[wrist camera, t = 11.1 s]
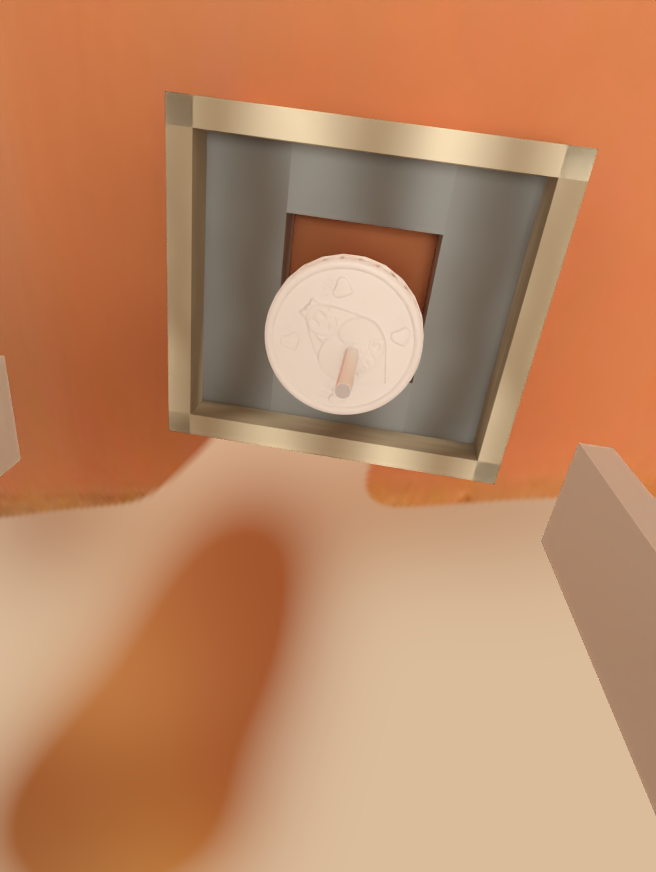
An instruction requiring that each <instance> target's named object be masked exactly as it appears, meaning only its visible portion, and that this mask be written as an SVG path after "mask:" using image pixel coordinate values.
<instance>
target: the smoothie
mask: <svg viewBox="0 0 656 872" xmlns="http://www.w3.org/2000/svg"><path fill="white" fill-rule="evenodd" d="M423 340H424V331H423V318H422V314H421V311H420V308H419V306H418V303H417V300H416V297H415V296H414V294H413V293H412V291H411V290H410V289H409V287H408V286H407V284H406V283H405V282H404V280H403V279H402V278H401V277H400V276H398V275H397V274H396V273H395V272H393V271H392V270H391V269H390V268H388V267H387V266H386V265H384V264H382V263H379V262H377V261H375V260H372V259H370V258H368V257H365V256H357V255H350V254H338V255H331V256H324V257H321V258H319V259H316V260H314V261H312V262H310V263H307V264H305V265H303V266H302V267H300V268H299V269H298V270H297V271H296V272H294V273H293V274H292V275H291V276H290V277H288V278H287V279H286V281H285V282H284V284H283V285H282V286H281V288H280V289H279V291H278V292H277V294H276V295H275V297H274V300H273V302H272V304H271V306H270V309H269V311H268V315H267V319H266V324H265V347H266V352H267V356H268V359H269V362H270V365H271V367H272V369H273V371H274V373H275V375H276V377H277V378H278V379H279V381H280V382H281V384H282V385H283V386H284V387H285V388H286V389H287V390H288V391H289V392H290V393H291V394H292V395H293V396H294V397H295V398H297V399H298V400H300V401H301V402H303V403H304V404H306V405H308V406H310V407H312V408H314V409H317V410H320V411H323V412H327V413H332V414H340V415H351V414H359V413H364V412H368V411H371V410H374V409H376V408H379V407H381V406H383V405H385V404H386V403H388V402H389V401H391V400H392V399H394V398H395V397H396V396H397V395H398V394H399V393H400V392H401V391H403V389H404V388H405V387H406V386H407V385H408V383H409V382H410V380H411V379H412V377H413V375H414V374H415V372H416V370H417V367H418V365H419V362H420V359H421V354H422V349H423Z"/></svg>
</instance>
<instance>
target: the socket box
mask: <svg viewBox="0 0 656 872" xmlns="http://www.w3.org/2000/svg"><path fill="white" fill-rule="evenodd" d="M165 136H166V223H167V310H168V397H169V430H170V431H176V432H182V433H188V434H194V435H200V436H206V437H212V438H219V439H225V440H231V441H237V442H243V443H249V444H255V445H261V446H267V447H273V448H279V449H285V450H291V451H298V452H304V453H310V454H315V455H322V456H328V457H334V458H340V459H346V460H352V461H358V462H364V463H370V464H376V465H382V466H388V467H394V468H400V469H406V470H412V471H418V472H425V473H431V474H437V475H443V476H449V477H455V478H461V479H467V480H473V481H479V482H485V483H491V484H495V481H496V478H497V475H498V471H499V468H500V465H501V462H502V458H503V455H504V452H505V449H506V445H507V442H508V439H509V436H510V432H511V429H512V426H513V423H514V420H515V416H516V413H517V410H518V407H519V403H520V400H521V397H522V394H523V390H524V387H525V384H526V381H527V377H528V374H529V371H530V368H531V364H532V361H533V358H534V355H535V352H536V348H537V345H538V342H539V339H540V335H541V332H542V329H543V326H544V322H545V319H546V316H547V313H548V309H549V306H550V303H551V300H552V296H553V293H554V290H555V287H556V284H557V280H558V277H559V274H560V271H561V267H562V264H563V261H564V258H565V254H566V251H567V248H568V245H569V241H570V238H571V235H572V232H573V228H574V225H575V222H576V219H577V216H578V212H579V209H580V206H581V203H582V199H583V196H584V193H585V190H586V186H587V183H588V180H589V177H590V173H591V170H592V167H593V164H594V161H595V157H596V154H597V151H598V149H594V148H587V147H580V146H572V145H565V144H557V143H550V142H542V141H535V140H527V139H520V138H512V137H505V136H497V135H490V134H482V133H475V132H467V131H460V130H452V129H445V128H437V127H430V126H422V125H415V124H407V123H400V122H392V121H385V120H377V119H370V118H362V117H355V116H347V115H340V114H332V113H325V112H317V111H310V110H303V109H295V108H288V107H280V106H273V105H265V104H258V103H250V102H243V101H235V100H228V99H220V98H213V97H205V96H198V95H190V94H183V93H175V92H168V91H165ZM295 214H300V215H307V216H314V217H321V218H328V219H335V220H342V221H349V222H356V223H363V224H370V225H377V226H384V227H391V228H398V229H405V230H412V231H419V232H426V233H433V234H439V235H438V240H437V245H436V250H435V255H434V260H433V265H432V270H431V275H430V280H429V284H428V289H427V294H426V299H425V304H424V309H423V314H422V318H423V331H424V340H423V349H422V354H421V359H420V362H419V365H418V367H417V370H416V372H415V374H414V375H413V377H412V379H411V380H410V382H409V383H408V385H407V386H406V387H405V388H404V389H403V391H401V392H400V393H399V394H398V395H397V396H396V397H395V398H394V399H392V400H391V401H389V402H388V403H386V404H385V405H383V406H381V407H379V408H376V409H374V410H371V411H368V412H364V413H359V414H351V415H340V414H332V413H327V412H323V411H320V410H317V409H314V408H312V407H310V406H308V405H306V404H304V403H303V402H301V401H300V400H298V399H297V398H295V397H294V396H293V395H292V394H291V393H290V392H289V391H288V390H287V389H286V388H285V387H284V386H283V385H282V384H281V382H280V381H279V379H278V378H277V377H276V375H275V373H274V371H273V369H272V367H271V365H270V362H269V359H268V356H267V352H266V347H265V324H266V319H267V315H268V311H269V309H270V306H271V304H272V302H273V300H274V297H275V295H276V294H277V292H278V291H279V289H280V288H281V286H282V285H283V284H284V282H285V281H286V279H287V278H288V277H289V275H290V264H291V253H292V241H293V230H294V219H295Z"/></svg>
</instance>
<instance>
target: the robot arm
mask: <svg viewBox="0 0 656 872" xmlns="http://www.w3.org/2000/svg"><path fill="white" fill-rule="evenodd" d="M20 460H21V457H20V450H19V444H18V438H17V432H16V425H15V419H14V413H13V406H12V400H11V394H10V387H9V381H8V375H7V368H6V362H5V356H2V355H0V476H1V475H3V474H4V473H5V472H6V471H8V470H9V469H10V468H11V467H13V466H14V465H15V464H16V463H18V462H19V461H20ZM542 544H543V547H544V549H545V551H546V554H547V556H548V559H549V561H550V563H551V566H552V568H553V570H554V573H555V575H556V578H557V580H558V583H559V585H560V587H561V590H562V592H563V595H564V597H565V599H566V602H567V604H568V606H569V609H570V611H571V614H572V616H573V618H574V621H575V623H576V625H577V628H578V630H579V633H580V635H581V637H582V640H583V642H584V645H585V647H586V649H587V652H588V654H589V657H590V659H591V661H592V664H593V666H594V669H595V671H596V673H597V675H598V678H599V681H600V683H601V685H602V688H603V690H604V693H605V695H606V697H607V699H608V702H609V704H610V707H611V709H612V712H613V714H614V716H615V719H616V721H617V724H618V726H619V728H620V731H621V733H622V736H623V738H624V740H625V743H626V745H627V747H628V750H629V752H630V755H631V757H632V759H633V762H634V764H635V766H636V769H637V771H638V774H639V776H640V778H641V781H642V783H643V786H644V788H645V791H646V793H647V795H648V797H649V800H650V803H651V805H652V807H653V810H654V812H655V814H656V500H655V498H654V497H653V496H652V495H651V494H650V492H649V491H648V490H647V489H646V487H645V486H644V485H643V484H642V483H641V481H640V480H639V479H638V478H637V476H636V475H635V474H634V473H633V471H632V470H631V469H630V468H629V467H628V465H627V464H626V463H625V462H624V460H623V459H622V458H621V457H620V456H619V454H618V453H617V452H616V451H615V449H614V448H611V447H604V446H597V445H591V444H584V443H578V446H577V448H576V451H575V454H574V456H573V459H572V462H571V464H570V467H569V469H568V472H567V475H566V477H565V480H564V483H563V485H562V488H561V491H560V493H559V496H558V499H557V501H556V504H555V506H554V509H553V512H552V514H551V517H550V520H549V522H548V525H547V528H546V530H545V533H544V535H543V538H542Z"/></svg>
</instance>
